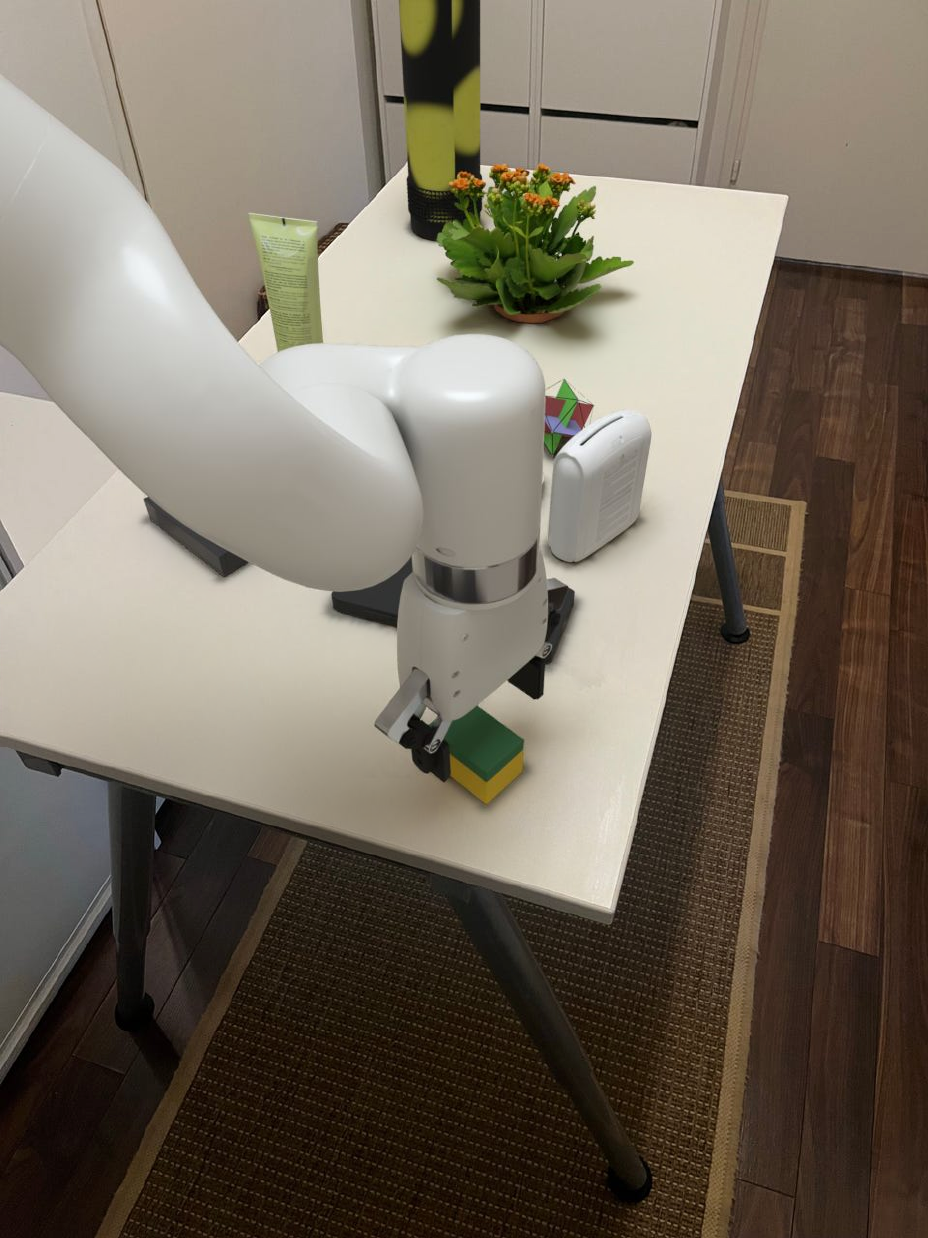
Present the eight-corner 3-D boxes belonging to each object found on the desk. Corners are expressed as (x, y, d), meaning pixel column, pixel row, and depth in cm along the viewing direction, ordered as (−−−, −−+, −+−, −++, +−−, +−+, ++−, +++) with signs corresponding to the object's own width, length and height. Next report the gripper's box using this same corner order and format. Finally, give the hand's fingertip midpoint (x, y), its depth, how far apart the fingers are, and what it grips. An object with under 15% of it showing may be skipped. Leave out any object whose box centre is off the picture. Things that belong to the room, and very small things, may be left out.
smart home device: (550, 653, 75) (327, 597, 80) (549, 667, 76) (330, 611, 81) (577, 586, 80) (366, 537, 85) (575, 600, 82) (368, 551, 87)
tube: (324, 370, 109) (300, 201, 95) (339, 391, 106) (317, 219, 92) (277, 382, 107) (247, 212, 93) (291, 404, 104) (262, 231, 90)
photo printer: (610, 499, 91) (624, 390, 83) (644, 519, 89) (662, 409, 80) (539, 548, 86) (546, 438, 78) (574, 571, 84) (585, 459, 75)
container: (491, 216, 139) (493, -23, 117) (469, 246, 132) (467, -2, 110) (423, 208, 141) (413, -27, 120) (398, 237, 134) (382, -8, 113)
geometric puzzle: (592, 400, 100) (553, 353, 94) (617, 435, 95) (578, 388, 90) (540, 442, 102) (499, 400, 96) (562, 479, 97) (520, 436, 92)
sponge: (522, 771, 69) (524, 739, 66) (486, 805, 67) (486, 773, 64) (464, 727, 72) (464, 695, 69) (428, 758, 70) (426, 726, 67)
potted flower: (618, 263, 127) (633, 126, 115) (647, 352, 111) (668, 204, 98) (437, 268, 127) (432, 132, 114) (439, 358, 110) (433, 210, 98)
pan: (224, 577, 84) (218, 557, 83) (149, 519, 90) (143, 498, 89) (349, 500, 92) (346, 480, 90) (273, 451, 98) (269, 431, 96)
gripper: (524, 456, 60) (520, 635, 72) (320, 595, 52) (354, 771, 64) (617, 505, 56) (596, 685, 69) (413, 663, 48) (431, 836, 60)
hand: (479, 726), depth 66 cm, fingers open, 9 cm apart
